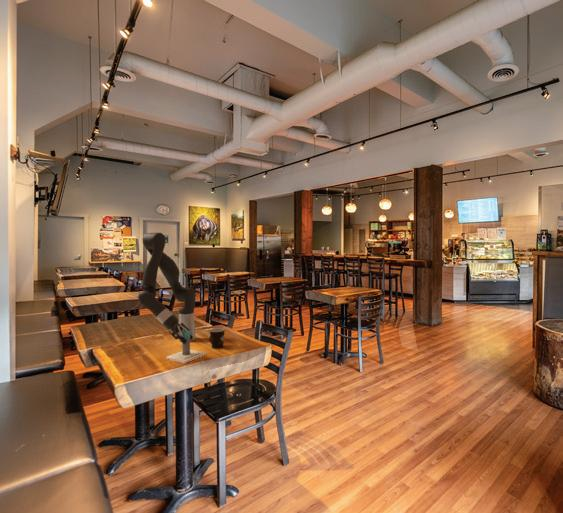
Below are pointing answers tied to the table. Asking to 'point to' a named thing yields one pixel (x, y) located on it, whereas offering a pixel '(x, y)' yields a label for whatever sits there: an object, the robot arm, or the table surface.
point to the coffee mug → (217, 338)
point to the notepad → (185, 356)
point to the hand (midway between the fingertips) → (188, 340)
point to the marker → (187, 345)
